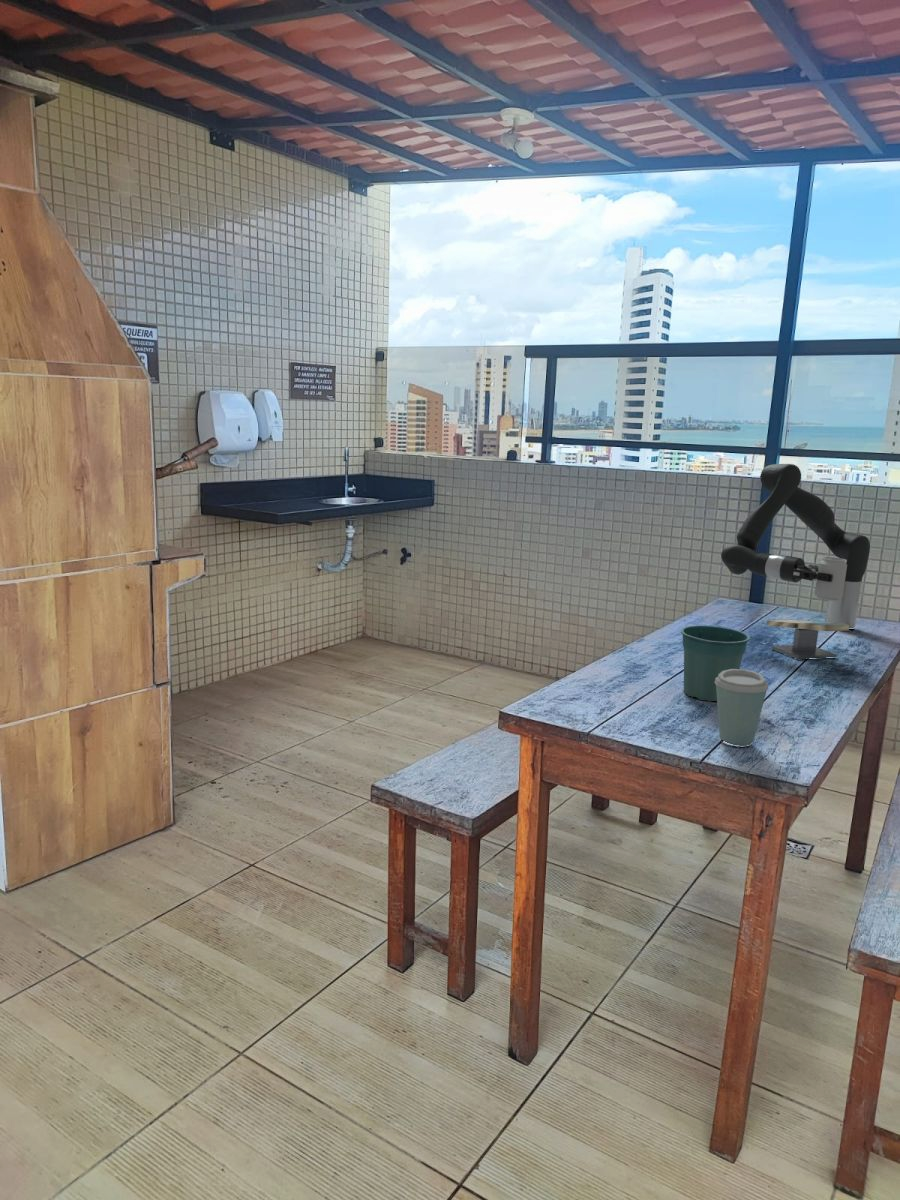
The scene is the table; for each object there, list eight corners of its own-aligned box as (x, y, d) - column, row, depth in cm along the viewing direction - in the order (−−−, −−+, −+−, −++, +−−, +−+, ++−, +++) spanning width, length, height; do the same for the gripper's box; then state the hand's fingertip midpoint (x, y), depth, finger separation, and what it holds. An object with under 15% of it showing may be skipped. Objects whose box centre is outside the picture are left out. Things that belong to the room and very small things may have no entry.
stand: (771, 649, 260) (774, 625, 258) (808, 648, 264) (811, 623, 262) (797, 660, 249) (801, 634, 247) (836, 658, 253) (840, 633, 251)
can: (846, 601, 242) (852, 560, 240) (820, 600, 243) (826, 559, 240) (835, 596, 250) (841, 556, 247) (810, 595, 250) (815, 555, 247)
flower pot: (729, 710, 200) (737, 645, 196) (664, 695, 209) (670, 632, 206) (751, 695, 213) (759, 633, 209) (689, 681, 222) (695, 622, 219)
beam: (764, 625, 266) (764, 619, 266) (789, 624, 269) (789, 619, 269) (824, 631, 241) (824, 625, 241) (851, 630, 244) (851, 624, 244)
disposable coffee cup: (760, 755, 172) (769, 685, 169) (705, 746, 176) (713, 677, 173) (761, 738, 182) (770, 672, 179) (710, 730, 185) (717, 665, 182)
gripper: (774, 557, 250) (829, 566, 238) (797, 554, 259) (851, 562, 247) (771, 582, 251) (825, 592, 239) (794, 578, 261) (847, 587, 249)
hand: (838, 577), depth 243 cm, fingers closed on can, 7 cm apart
